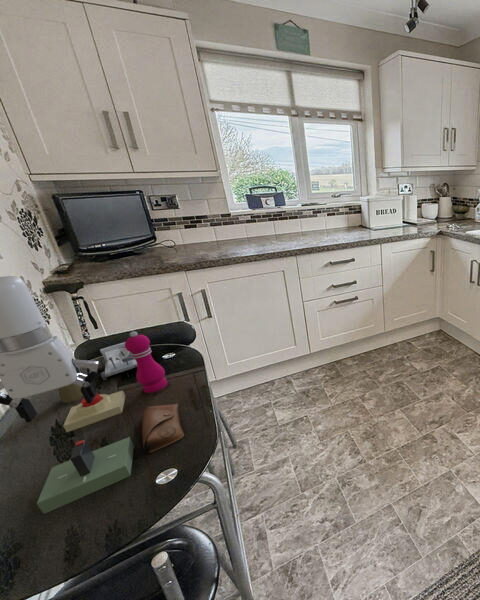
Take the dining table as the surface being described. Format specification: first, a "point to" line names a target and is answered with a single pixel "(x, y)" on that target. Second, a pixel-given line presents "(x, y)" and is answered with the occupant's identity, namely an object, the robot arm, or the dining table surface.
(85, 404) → the red button
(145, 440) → the sunglasses case
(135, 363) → the silver toaster
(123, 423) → the dining table surface
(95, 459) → the panel
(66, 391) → the cork
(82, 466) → the handle knob
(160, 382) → the pepper mill
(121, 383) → the dining table surface
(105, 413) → the button block
